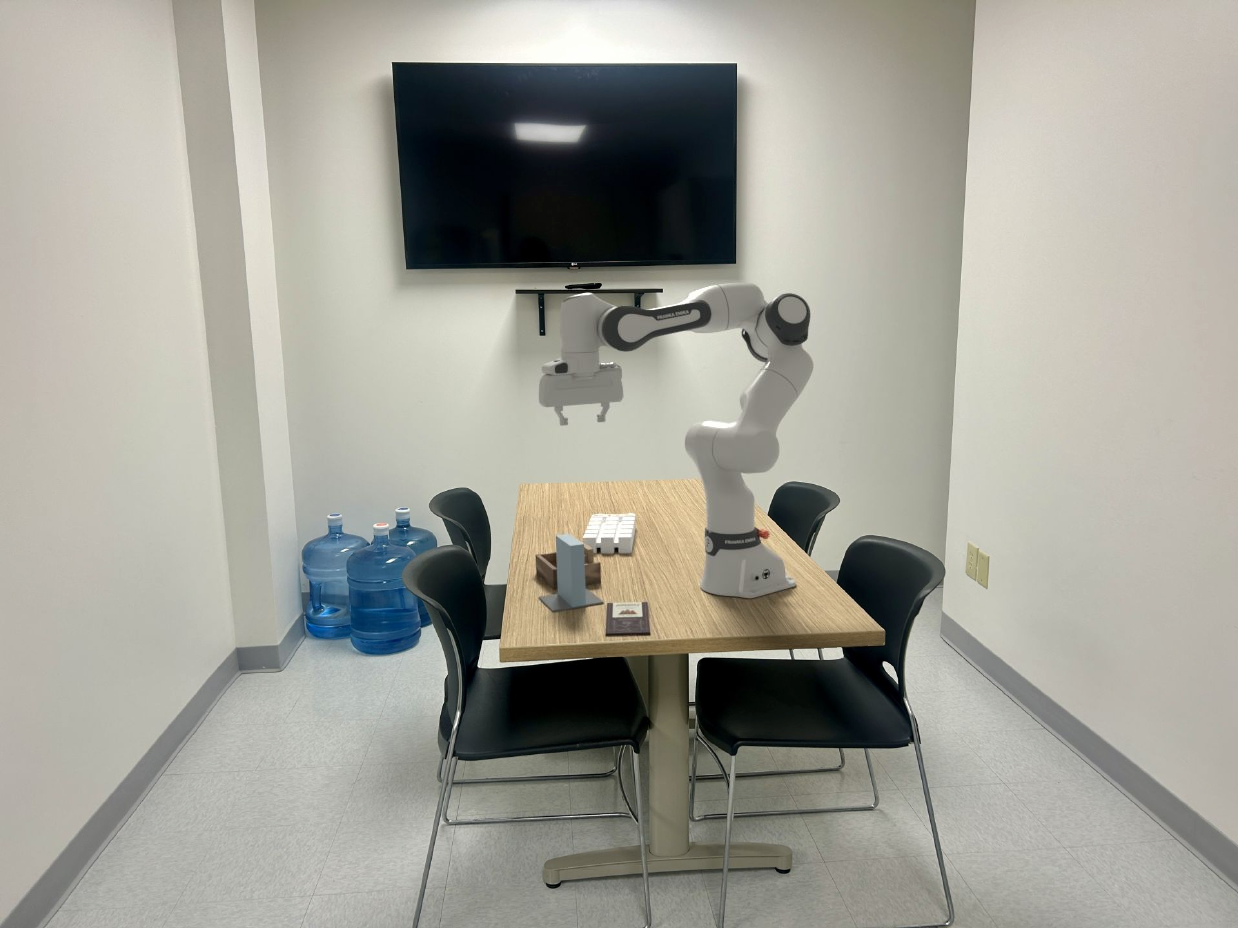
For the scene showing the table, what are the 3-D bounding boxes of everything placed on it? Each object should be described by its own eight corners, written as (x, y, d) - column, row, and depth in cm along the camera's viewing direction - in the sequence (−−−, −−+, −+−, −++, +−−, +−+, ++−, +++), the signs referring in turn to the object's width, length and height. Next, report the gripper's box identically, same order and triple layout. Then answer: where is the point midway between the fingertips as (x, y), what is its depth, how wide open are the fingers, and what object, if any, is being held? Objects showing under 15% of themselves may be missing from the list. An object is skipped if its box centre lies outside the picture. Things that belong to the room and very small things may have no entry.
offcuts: (579, 563, 209) (578, 539, 208) (594, 574, 200) (593, 549, 199) (563, 566, 207) (562, 541, 206) (577, 577, 198) (576, 551, 197)
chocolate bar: (605, 633, 165) (607, 602, 183) (605, 637, 165) (607, 606, 183) (650, 632, 165) (647, 601, 183) (650, 636, 165) (647, 605, 183)
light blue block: (570, 591, 191) (568, 533, 189) (586, 604, 182) (584, 544, 180) (557, 593, 190) (555, 535, 188) (572, 607, 181) (570, 545, 178)
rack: (580, 567, 211) (580, 548, 210) (601, 582, 199) (600, 562, 198) (536, 573, 207) (535, 554, 206) (554, 589, 194) (553, 569, 193)
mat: (587, 590, 193) (587, 588, 193) (603, 603, 184) (603, 601, 184) (538, 598, 188) (538, 596, 188) (552, 611, 179) (552, 610, 179)
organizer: (582, 537, 223) (594, 508, 258) (583, 554, 224) (595, 523, 258) (631, 537, 222) (636, 507, 257) (631, 554, 223) (636, 522, 258)
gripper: (616, 361, 198) (618, 418, 200) (535, 366, 190) (537, 425, 192) (626, 362, 192) (628, 421, 194) (543, 367, 184) (546, 428, 186)
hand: (582, 423), depth 193 cm, fingers open, 8 cm apart
